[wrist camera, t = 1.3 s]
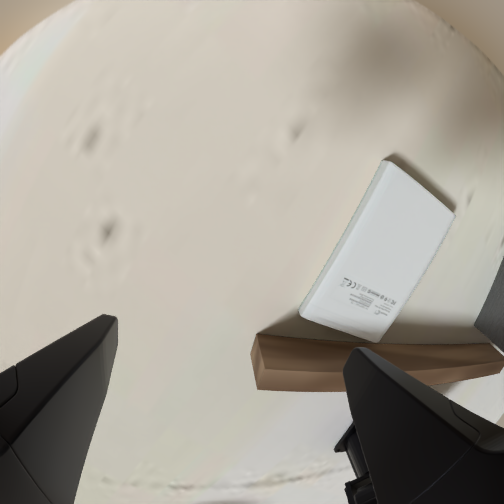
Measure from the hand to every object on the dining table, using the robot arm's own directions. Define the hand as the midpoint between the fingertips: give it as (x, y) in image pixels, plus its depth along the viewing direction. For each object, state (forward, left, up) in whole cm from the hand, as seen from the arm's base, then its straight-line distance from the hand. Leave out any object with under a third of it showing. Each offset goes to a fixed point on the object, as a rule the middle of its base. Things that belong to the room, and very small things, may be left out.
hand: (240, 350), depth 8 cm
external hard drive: (0, -12, -13) cm, 17 cm away
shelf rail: (-9, -20, -12) cm, 24 cm away
